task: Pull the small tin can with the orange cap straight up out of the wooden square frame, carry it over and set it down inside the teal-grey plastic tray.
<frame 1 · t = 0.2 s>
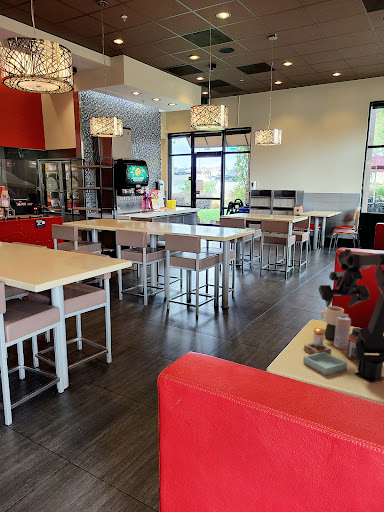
hand: (337, 306, 155), 15 cm above the table, tool tilted 30°, fingers open, 9 cm apart
energy drink: (340, 347, 152), on the table
tray: (324, 366, 133), on the table
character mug: (331, 338, 160), on the table
supplement bottle: (355, 358, 141), on the table
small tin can: (318, 341, 145), in the wooden square frame
wooden square frame: (317, 352, 145), on the table
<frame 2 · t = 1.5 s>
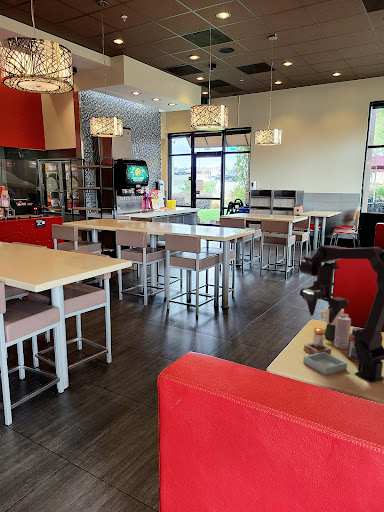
hand: (320, 319, 143), 13 cm above the table, tool pointing down, fingers open, 9 cm apart
nothing on the table moved.
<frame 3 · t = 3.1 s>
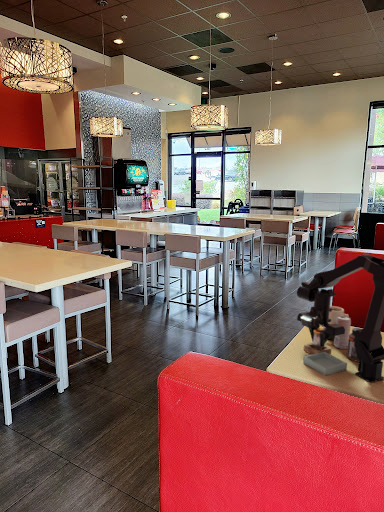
hand: (318, 344, 145), 3 cm above the table, tool pointing down, fingers closed on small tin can, 4 cm apart
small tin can: (318, 341, 145), in the wooden square frame, touching gripper
everything else where it was.
when the fingers open (5 cm above the table, at t = 7.0 s): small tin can drops 1 cm, resting on tray.
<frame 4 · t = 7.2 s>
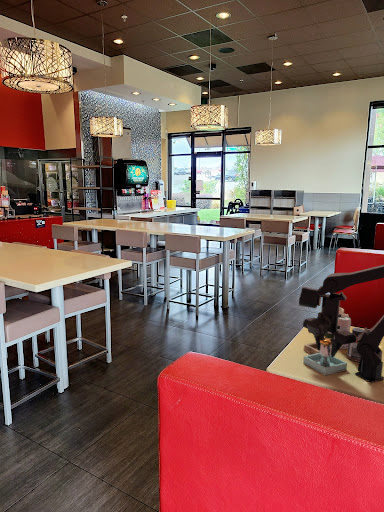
hand: (325, 353, 133), 5 cm above the table, tool pointing down, fingers open, 6 cm apart
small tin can: (325, 352, 133), in the tray, point 5 cm above the table
everything else where it was.
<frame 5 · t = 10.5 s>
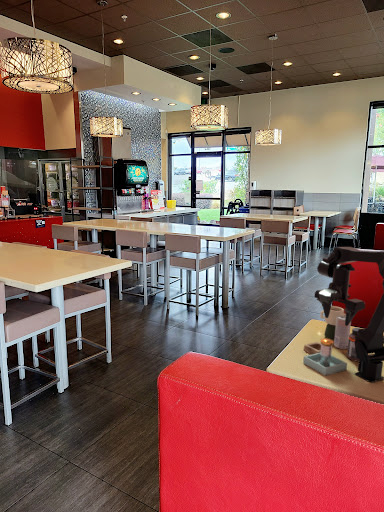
hand: (336, 321, 142), 13 cm above the table, tool pointing down, fingers open, 9 cm apart
nothing on the table moved.
at the end: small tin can inside the target area on the tray (0.0 cm from its centre), point 5.1 cm above the tray's base; the gripper is holding nothing; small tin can touching tray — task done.
